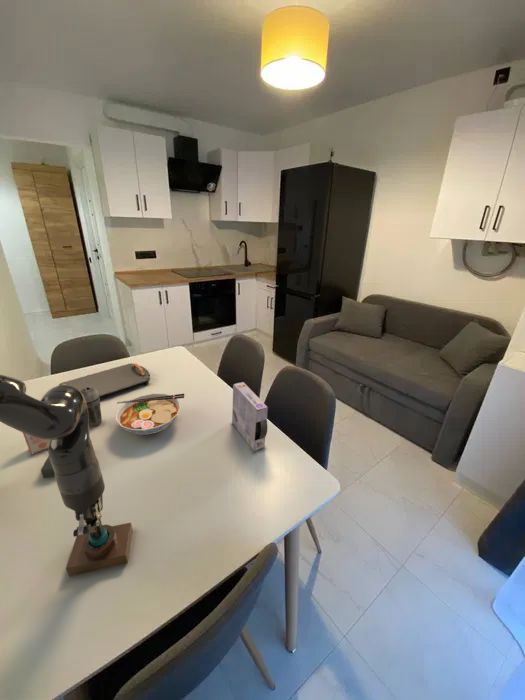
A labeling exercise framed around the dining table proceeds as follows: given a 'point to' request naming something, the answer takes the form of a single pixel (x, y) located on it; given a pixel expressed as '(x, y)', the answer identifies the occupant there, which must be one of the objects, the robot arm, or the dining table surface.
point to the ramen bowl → (148, 413)
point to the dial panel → (47, 469)
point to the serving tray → (112, 379)
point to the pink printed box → (36, 444)
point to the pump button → (99, 539)
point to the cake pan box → (249, 416)
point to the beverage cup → (92, 405)
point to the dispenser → (101, 551)
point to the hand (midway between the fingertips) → (97, 533)
